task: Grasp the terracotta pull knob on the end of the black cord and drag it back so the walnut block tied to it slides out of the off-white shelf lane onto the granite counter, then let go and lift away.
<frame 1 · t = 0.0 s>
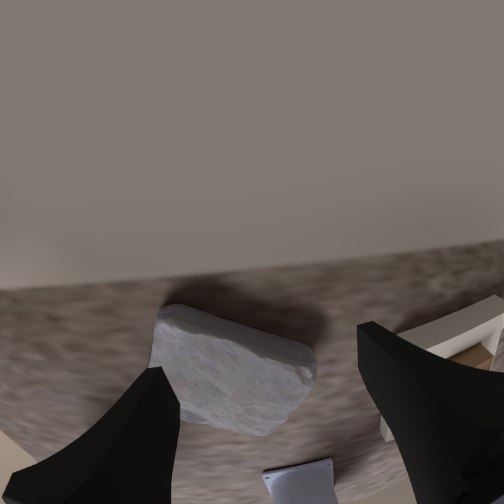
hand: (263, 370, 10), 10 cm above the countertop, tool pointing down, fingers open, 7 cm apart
shelf lane: (438, 375, 25), on the countertop
string block: (441, 361, 24), on the countertop
stone block: (222, 367, 23), on the countertop
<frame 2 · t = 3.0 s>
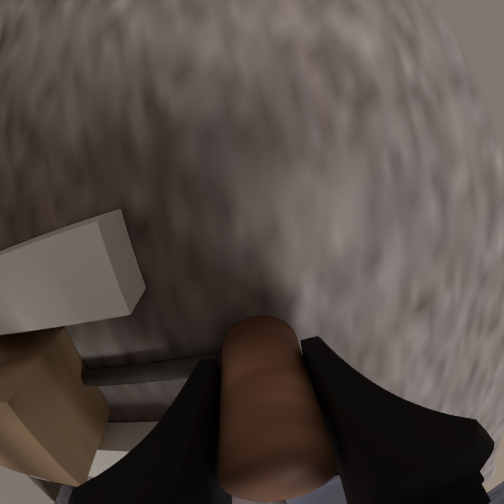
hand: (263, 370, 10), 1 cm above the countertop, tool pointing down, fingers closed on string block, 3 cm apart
shelf lane: (73, 373, 12), on the countertop
string block: (45, 374, 12), on the countertop, touching gripper
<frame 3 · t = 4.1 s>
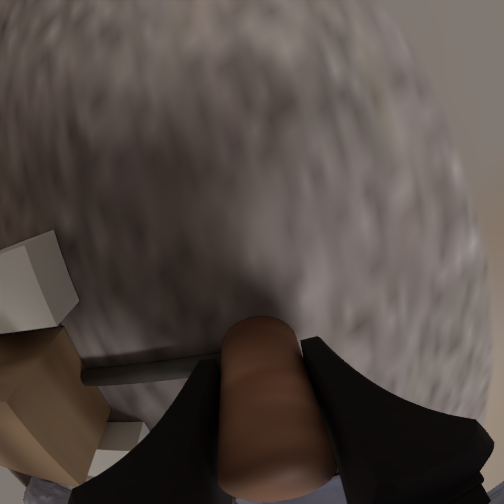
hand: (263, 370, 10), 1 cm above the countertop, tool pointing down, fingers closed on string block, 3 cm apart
shelf lane: (31, 374, 12), on the countertop
string block: (44, 374, 12), on the countertop, touching gripper
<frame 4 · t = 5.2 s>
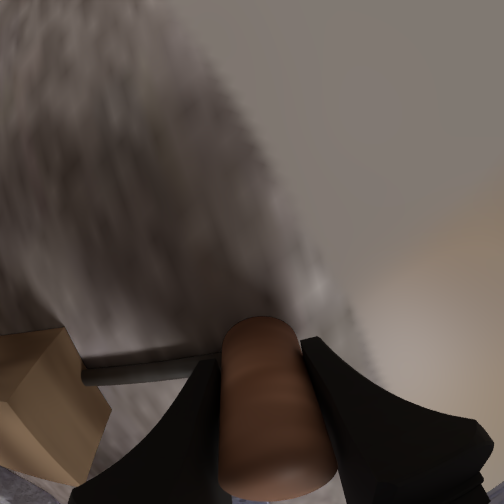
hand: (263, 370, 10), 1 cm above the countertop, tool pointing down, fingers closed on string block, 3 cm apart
string block: (45, 374, 12), on the countertop, touching gripper
stone block: (32, 492, 18), on the countertop
when the fingers open (2 cm above the countertop, at t = 6.8 s): string block stays where it is, on the countertop.
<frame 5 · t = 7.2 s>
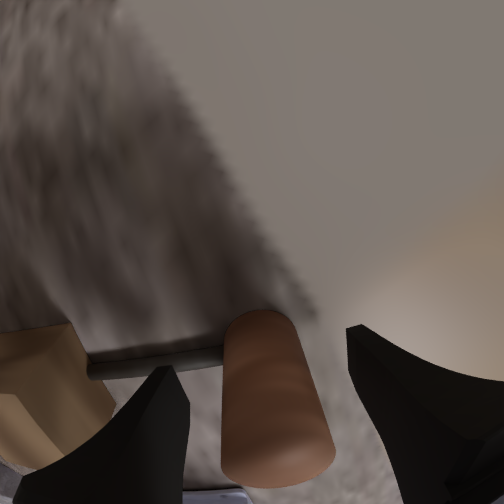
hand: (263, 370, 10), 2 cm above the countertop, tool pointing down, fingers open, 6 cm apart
string block: (51, 370, 12), on the countertop
stone block: (23, 485, 19), on the countertop
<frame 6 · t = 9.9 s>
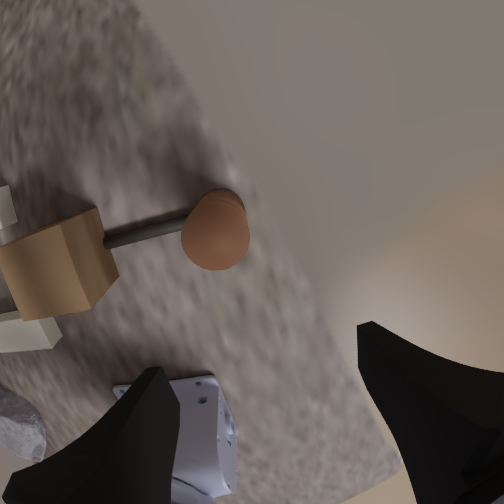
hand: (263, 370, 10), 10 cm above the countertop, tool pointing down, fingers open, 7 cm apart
string block: (74, 252, 19), on the countertop
stone block: (20, 417, 25), on the countertop
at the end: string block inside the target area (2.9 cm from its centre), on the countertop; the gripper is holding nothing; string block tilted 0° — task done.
